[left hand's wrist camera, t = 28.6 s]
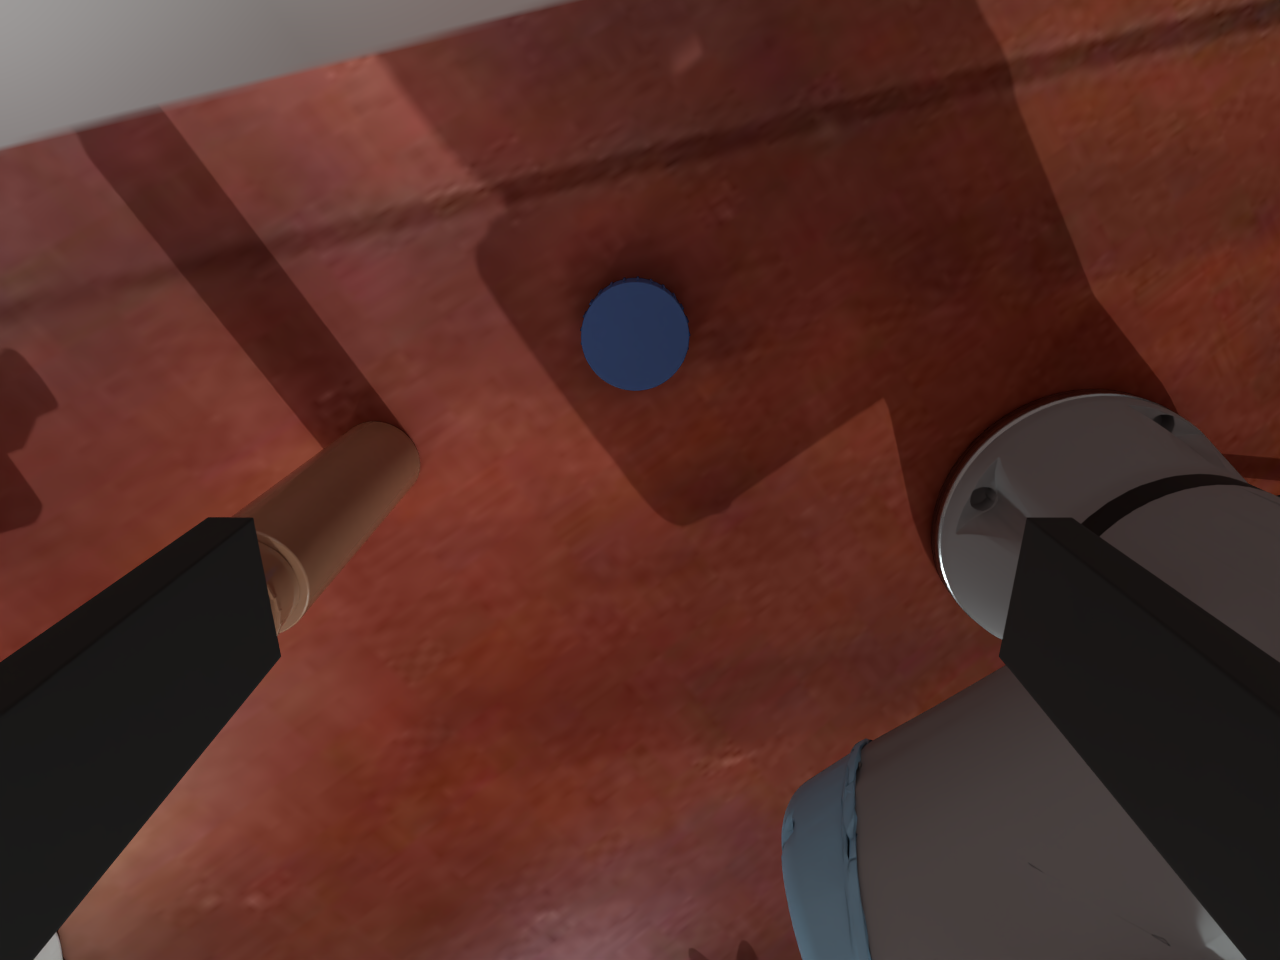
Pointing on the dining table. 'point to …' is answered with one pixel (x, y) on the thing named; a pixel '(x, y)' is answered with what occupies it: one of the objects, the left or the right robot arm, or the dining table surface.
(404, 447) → the jar
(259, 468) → the dining table surface
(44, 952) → the right robot arm
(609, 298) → the lid
